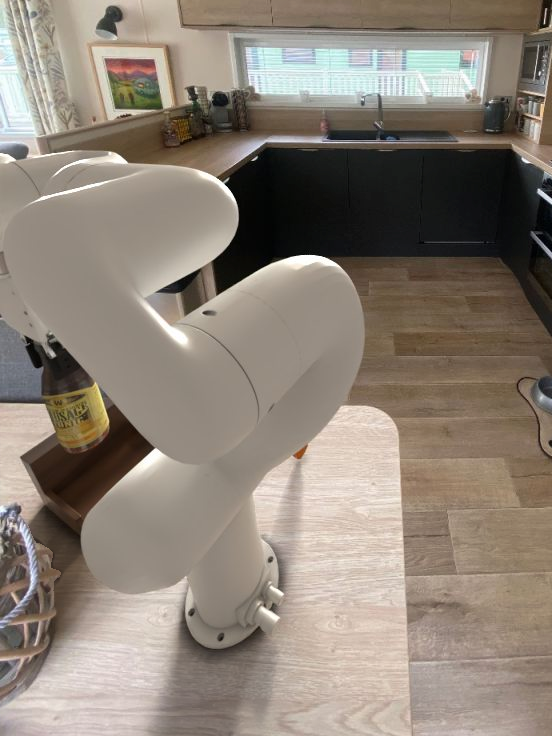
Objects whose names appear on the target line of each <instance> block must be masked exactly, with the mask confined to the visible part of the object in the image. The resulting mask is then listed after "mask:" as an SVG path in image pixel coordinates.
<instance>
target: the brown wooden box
mask: <svg viewBox="0 0 552 736" xmlns="http://www.w3.org/2000/svg"><path fill="white" fill-rule="evenodd" d="M102 400H103V403H104V407H105V410H106V413H107V416H108V419H109V432H108V434H107V436H106V437H105V438H104V439H103V440H102V441H101V442H100V444H98V445H97V446H95V447H94V448H91V449H89V450H87V451H84V452H81V453H76V454H73V453H69V452H67V451H65V450H64V448H63V446H62V445H61V444H60V442H59V439H58V436H57V434H56V432H53V433H52V434H50V435H49V436H48V437H46V438H45V439H43V440H42V441H40V442H39V443H38V444H36V445H34V446H33V447H32V448H30V449H29V450H27V451H26V452H24V453H23V454H21V455H20V456H19V459H20V461H21V462H22V464H23V466H24V468H25V470H26V472H27V474H28V476H29V477H30V480H31V482H32V484H33V485H34V487H35V489H36V491H37V493H38V495H39V497H40V499H41V500H42V501H41V502H42V503H43V504H44V506H46V508H48V509H49V510H50V511H51V512H52V513H54V514H55V516H57V517H58V518H59V519H60V520H61V521H63V522H64V523H65V524H66V525H67V526H68V527H69V528H70V529H72V530H73V531H74V532H75V533H76V534H77V535H79V536H80V537H81V530H82V525H83V522H84V520H85V518H86V516H87V514H88V513H89V512H90V510H91V509H92V508H93V507H94V506H95V505H96V504H97V503H98V502H99V501H100V500H101V499H102V498H103V497H104V495H105V494H106V493H107V492H108V491H109V490H110V489H111V488H113V487H114V486H115V485H116V484H117V483H118V482H119V481H120V480H121V479H122V478H123V477H124V476H125V475H126V474H127V473H129V472H130V471H131V470H132V469H133V468H134V467H135V466H136V465H137V464H138V463H140V462H141V461H142V460H143V459H144V458H145V457H146V456H147V455H148V454H150V453H151V452H152V451H153V450H154V449H155V447H154V446H153V445H151V444H150V443H149V442H148V441H147V440H146V439H145V438H144V437H143V436H142V435H141V434H140V433H139V431H138V430H137V429H136V428H135V427H134V426H133V425H132V424H131V422H130V421H129V420H128V419H127V418H126V417H125V416H124V414H123V413H122V412H121V411H120V410H119V409H118V407H117V406H116V405H115V404H114V403H113V401H112V400H111V399H110V398H109V397H108V396H107V395H106V397H104V398H102Z"/></svg>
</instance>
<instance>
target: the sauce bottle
mask: <svg viewBox="0 0 552 736" xmlns="http://www.w3.org/2000/svg"><path fill="white" fill-rule="evenodd" d="M48 333H50V331H48ZM48 333H47V334H48ZM45 335H46V334H45ZM49 342H50V344H51V346H52V347H53V345H54V343H56V342H58V340H57V338H56V337H55V338H53V339H51V340H50V341H49ZM33 343H34V347H35V350H36V351H37V352H38V353H39V355H40V358H41V360H42V365H43V367H42V372H41V374H40V388H41V389H40V390H41V391H40V393H41V394H40V395H41V398H42V401H43V403H44V406H45V408H46V411H47V413H48V416H49V419H50V421H51V424H52V426H53V429H54V431H55V432H56V434H57V436H58V439H59V442H60V444H61V445H62V446H63V448H64V450H65V451H67V452H69V453H73V454H76V453H81V452H84V451H87V450H89V449H91V448H94V447H95V446H97V445H98V444H100V442H101V441H102V440H103V439H104V438H105V437H106V436H107V434H108V432H109V419H108V416H107V413H106V410H105V407H104V403H103V398H102V394H101V391H100V387H99V385H98V384H97V383H96V382H95V381H94V380H93V378H92V377H91V376H90V375H89V374H88V373H87V372H86V371H85V370H84V368H83V367H82V366H81V367H80V368H79V369H78V370H76V371H74V372H73V373H71V374H69V375H68V376H66V377H64V378H63V379H61V380H59V381H56V380H55V379H54V378H53V376H52V373H51V371H50V369H49V366H48V364H47V362H46V359H45V358H46V357H48V355H47V354H46V352H45V350H44V348H43V346H42V344H41V342H37V341H35V340H34V341H33ZM55 432H54V433H55Z"/></svg>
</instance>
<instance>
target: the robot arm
mask: <svg viewBox="0 0 552 736" xmlns="http://www.w3.org/2000/svg"><path fill="white" fill-rule="evenodd" d="M239 218H240V217H239V207H238V204H237V201H236V198H235V197H234V195H233V193H232V192H231V190H230V189H229V188H228V187H227V186H226V185H225V184H224V183H223V182H222V181H221V180H219V179H218V178H216V177H215V176H213V175H212V174H209V173H208V172H205V171H202V170H200V169H197V168H191V167H187V166H181V165H171V164H152V163H151V164H150V163H134V162H133V163H132V162H128V161H127V160H126V159H125V158H123V157H122V156H121V155H119V154H118V153H117V152H114V151H111V150H110V151H109V150H72V151H63V152H57V153H50V154H44V155H37V156H33V157H29V158H22V159H21V158H20V159H15V158H14V157H12V156H10V155H9V154H4V153H0V316H1V318H2V319H3V322H5V324H6V325H7V326H9V328H11V329H13V330H15V331H17V332H18V333H19V337H20V339H21V341H22V343H23V344H24V345H25V346H24V348H25V350H26V352H27V356H28V357H29V359H30V362H31V364H32V367H33V368H35V369H36V370H38V369H41V368H43V365H42V360H41V358H40V355H39V353H38V352H37V351H36V350H35V347H34V343H33V341H34V340H35V341H37V342H41V344H42V346H43V348H44V350H45V352H46V354H47V355H48V357H46V358H45V359H46V362H47V364H48V366H49V369H50V371H51V373H52V376H53V378H54V379H55V380H56V381H59V380H61V379H63V378H64V377H66V376H68V375H69V374H71V373H73V372H74V371H76V370H78V369H79V368H80V367H81V366H82V367H83V368H84V370H85V371H86V372H87V373H88V374H89V375H90V376H91V377H92V378H93V380H94V381H95V382H96V383H97V385H98V387H99V389H101V390H102V391H103V392H104V394H105V395H106V397H107V396H108V397H109V398H110V399H111V400H112V401H113V403H114V404H115V405H116V406H117V407H118V409H119V410H120V411H121V412H122V413H123V414H124V416H125V417H126V418H127V419H128V420H129V421H130V422H131V424H132V425H133V426H134V427H135V428H136V429H137V430H138V431H139V433H140V434H141V435H142V436H143V437H144V438H145V439H146V440H147V441H148V442H149V443H150V444H151V445H153V446H154V447H155V449H154V450H153V451H152V452H151V453H150V454H148V455H147V456H146V457H145V458H144V459H143V460H142V461H141V462H140V463H138V464H137V465H136V466H135V467H134V468H133V469H132V470H131V471H130V472H129V473H127V474H126V475H125V476H124V477H123V478H122V479H121V480H120V481H119V482H118V483H117V484H116V485H115V486H114V487H113V488H111V489H110V490H109V491H108V492H107V493H106V494H105V495H104V497H103V498H102V499H101V500H100V501H99V502H98V503H97V504H96V505H95V506H94V507H93V508H92V509H91V510H90V512H89V513H88V514H87V516H86V518H85V520H84V522H83V525H82V530H81V536H80V546H81V551H82V552H81V553H82V556H83V558H84V561H85V563H86V565H87V567H88V569H89V570H90V572H91V574H92V575H93V576H94V577H95V578H96V579H97V580H98V581H99V582H100V583H101V584H103V586H105V587H107V588H109V589H110V590H113V591H116V592H118V593H121V594H127V595H141V594H147V593H151V592H155V591H161V590H164V589H168V588H170V587H174V586H175V585H177V584H178V583H180V582H181V581H182V580H183V579H185V578H186V580H187V583H188V588H187V593H186V596H185V600H184V601H185V602H184V618H185V622H186V626H187V628H188V631H189V633H190V635H191V636H192V637H193V639H194V640H195V641H196V643H198V644H200V645H201V646H203V647H205V648H209V649H213V650H214V649H215V650H219V649H221V650H222V649H227V648H230V647H233V646H235V645H237V644H239V643H240V642H243V641H244V640H245V639H246V638H248V637H249V636H251V635H252V634H253V632H255V631H256V630H257V629H258V628H259V627H260V629H261V630H262V632H264V633H265V634H267V636H269V637H270V638H273V637H274V636H275V635H276V634H277V632H278V630H279V629H280V625H281V624H282V618H281V617H280V616H278V615H277V614H276V613H274V612H273V611H272V610H271V608H272V606H273V604H275V605H276V606H278V607H281V606H282V604H283V603H284V600H285V598H286V594H285V593H284V592H283V591H281V590H280V589H278V587H279V578H280V577H279V576H280V574H279V573H280V572H279V564H278V560H277V556H276V554H275V551H274V550H273V549H272V547H271V546H270V544H269V543H267V542H266V541H265V540H264V539H263V538H262V536H261V530H260V525H259V519H258V515H257V510H256V503H255V497H254V492H255V491H256V489H257V488H258V487H259V485H260V483H261V482H262V481H263V479H264V478H265V477H266V475H267V474H268V473H269V472H271V471H272V470H273V469H275V468H277V467H279V466H280V465H281V464H283V463H285V461H287V460H288V459H290V458H291V457H293V456H292V455H294V454H295V453H297V452H298V451H299V450H301V449H302V448H303V447H305V446H306V445H307V444H308V445H309V444H310V443H311V442H312V441H313V440H314V439H315V438H316V437H318V435H320V433H321V432H322V431H323V430H325V428H326V427H327V426H328V424H329V423H330V422H331V420H333V418H334V417H335V416H336V414H337V413H338V411H339V410H340V408H341V407H342V406H343V404H344V402H345V400H346V399H347V397H348V395H349V394H350V391H351V390H352V387H353V385H354V384H355V381H356V378H357V376H358V373H359V370H360V367H361V364H362V360H363V357H364V352H365V351H364V350H365V341H366V325H365V316H364V311H363V306H362V303H361V299H360V295H359V294H358V290H357V289H356V286H355V284H354V282H353V281H352V279H351V278H350V275H348V273H347V272H346V270H344V269H343V268H342V267H341V266H340V265H339V264H338V263H336V262H334V261H333V260H330V259H329V258H326V257H323V256H319V255H311V254H309V255H308V254H307V255H306V254H305V255H296V256H290V257H288V258H284V259H280V260H278V261H275V262H272V263H270V264H268V265H266V266H264V267H262V268H260V269H258V270H257V271H255V272H253V273H252V274H250V275H249V276H247V277H245V278H243V279H242V280H241V281H239V282H237V283H236V284H233V285H232V286H231V287H229V288H227V289H226V290H224V291H222V292H221V293H219V294H218V295H216V296H215V297H213V298H211V299H210V300H209V301H207V302H205V303H204V304H202V305H200V306H199V307H197V308H196V309H195V310H192V311H191V312H189V313H188V314H186V315H185V316H183V317H181V318H180V319H179V320H177V321H175V322H174V323H172V324H171V325H170V324H169V323H168V322H167V321H166V320H165V319H164V318H163V317H162V316H161V314H159V312H158V311H156V309H155V308H154V307H153V306H152V305H151V304H150V303H149V302H148V301H147V300H146V298H147V297H149V296H151V295H153V294H154V293H157V292H159V291H160V290H162V289H164V288H166V287H168V286H169V285H171V284H173V283H175V282H177V281H179V280H181V279H182V278H185V277H186V276H188V275H190V274H192V273H194V272H196V271H198V270H199V269H201V268H203V267H205V266H206V265H208V264H210V262H212V261H214V260H215V259H216V258H217V257H219V256H220V255H221V254H222V253H223V252H224V251H225V250H226V249H227V248H228V246H229V245H230V243H231V242H232V241H233V239H234V237H235V235H236V233H237V229H238V227H239V220H240V219H239ZM48 331H50V333H48ZM47 333H48V334H47ZM45 334H46V335H45ZM55 337H56V338H57V340H58V342H56V343H54V345H53V347H52V346H51V344H50V342H49V341H50V340H51V339H53V338H55Z"/></svg>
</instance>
